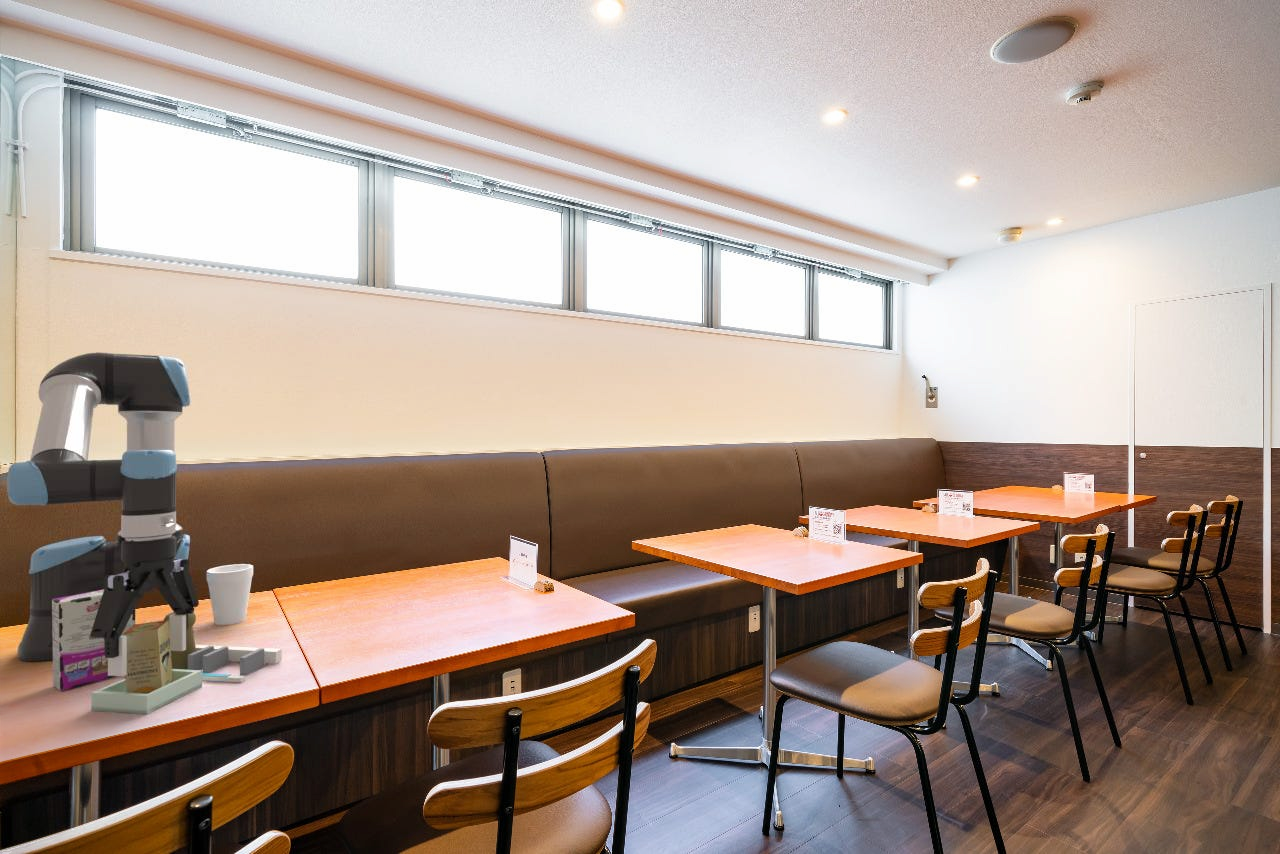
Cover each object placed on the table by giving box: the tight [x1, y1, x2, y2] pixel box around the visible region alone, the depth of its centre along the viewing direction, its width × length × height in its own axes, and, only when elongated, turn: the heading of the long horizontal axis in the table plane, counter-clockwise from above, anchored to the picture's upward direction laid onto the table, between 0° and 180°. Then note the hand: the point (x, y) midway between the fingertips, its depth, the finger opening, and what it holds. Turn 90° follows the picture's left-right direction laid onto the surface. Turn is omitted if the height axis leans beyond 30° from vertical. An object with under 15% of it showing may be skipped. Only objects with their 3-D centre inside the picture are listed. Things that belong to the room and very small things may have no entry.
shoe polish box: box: [122, 619, 173, 694], centre depth 104 cm, size 5×5×12 cm
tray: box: [90, 669, 203, 715], centre depth 105 cm, size 11×11×3 cm
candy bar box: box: [52, 589, 136, 692], centre depth 113 cm, size 11×5×16 cm, turn 148°
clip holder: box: [188, 644, 283, 683], centre depth 118 cm, size 24×10×4 cm, turn 83°
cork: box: [162, 611, 197, 670], centre depth 118 cm, size 6×6×11 cm
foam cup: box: [206, 563, 254, 626], centre depth 147 cm, size 10×9×13 cm
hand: (149, 662), depth 105 cm, fingers open, 10 cm apart
